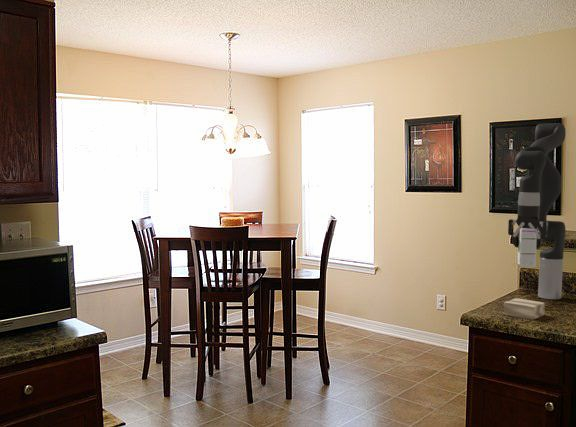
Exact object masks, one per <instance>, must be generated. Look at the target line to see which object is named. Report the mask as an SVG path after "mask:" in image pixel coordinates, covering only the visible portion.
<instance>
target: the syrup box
mask: <svg viewBox="0 0 576 427" xmlns="http://www.w3.org/2000/svg"><path fill="white" fill-rule="evenodd" d="M536 231H537V229H536ZM534 232H535V230H534V229H532V228H521V229H520V232H519V235H518V247H517V265H518V266H519V267H521V268H536V267H537V264H536V263H537V249H536V243H537V233H534Z"/></svg>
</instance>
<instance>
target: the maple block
mask: <svg viewBox="0 0 576 427" xmlns="http://www.w3.org/2000/svg"><path fill="white" fill-rule="evenodd" d="M545 308H546V302H543V301H539V300H538V301H537V300H531V299H525V298H519V297H515V298H513V299H512V298H511V299H510V300H506V301H504V302H503V315H504V314H505V315H504V316H509V315H510V316H511V317H516V318H520V319H526V320H531V321H533V320H535V319H538V318H541V317H542V316H545V311H546V309H545Z"/></svg>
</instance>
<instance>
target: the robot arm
mask: <svg viewBox="0 0 576 427" xmlns="http://www.w3.org/2000/svg"><path fill="white" fill-rule="evenodd" d="M565 139H566V128H565V125H564V124H562V123H560V122H553V123H552V122H547V123H537V124H536V127H535V131H534V142H532V143H531V145H530V146H527V147H525V148H523V149H522V150H520V151H519V152H517V154H516V156H515V158H514V159H515V160H514V163H515V166H516V167H517V168H518V169H519V170H523V171H527V170H528V171H533V173H531V175H525V176H522V177H521V178H520V179H519V188H518V190H519V192H518V198H517V199H518V200H517V218H516V219H513V218H511V219H508V228H507V230H508V231H507V234H508V235H509V236H512V246H514V248H518V235H519V232H520V229H521V228H532V229H534V230H535V232H534V233H537V243H536V250H540V249H541V247H542V245H543V242H544V243H554V245H553V246H552V247H550V248H547V249H542V250H540V251H539V263H538V265H539V266H538V267H539V268H538V285H537V286H538V287H537V288H538V290H537V292H538V293H537V297H538V298H541V299H547V300H561V299H562V290H563V288H562V287H563V272H564V271H563V268H564V251H565V240H566V239H565V238H566V225H565V222H564V221H559V220H548V219H547V217H548V213H549V211H550V210H551V207H552V206H553V204H554V203H555V202H556V200H557V199H558V198H559V196H560V194H561V192H562V177H561V174H560V171H559V170H558V169H557V167H556V166H555V165H554V163H553V162H552V160H551V159H550V157H549V155H548V154H549V153H550V152H552V151H553V150H554V149H557V148H558V147H560V146H561V145H562V144H563V143H564V141H565ZM515 225H517V226H518V227H517V229H516V230H515V232H514V228H515V227H514V226H515ZM536 229H537V231H536Z"/></svg>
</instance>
